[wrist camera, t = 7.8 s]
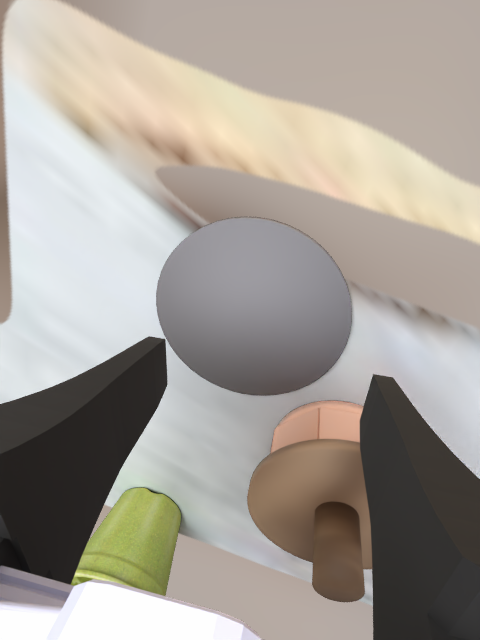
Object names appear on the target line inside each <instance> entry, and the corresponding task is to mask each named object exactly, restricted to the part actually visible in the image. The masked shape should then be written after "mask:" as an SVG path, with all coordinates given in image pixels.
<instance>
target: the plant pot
mask: <svg viewBox="0 0 480 640" xmlns="http://www.w3.org/2000/svg"><path fill="white" fill-rule="evenodd" d="M180 522H181V513H180V510H179V508H178V507H177V505H176V504H175V503H174V502H173V501H172V500H171V499H170V498H168V497H167V496H165V495H163V494H155V493H152V492H150V491H149V490H148V489H147V488H133V489H129V490H127V491H125V492H124V493H123V494H122V495H121V497H120V498H119V500H118V501H117V502H116V504H115V505H114V507H113V508H112V509H111V511H110V512H109V514H108V515H107V516H106V518H105V519H104V521H103V522H102V523H101V525H100V526H99V528H98V529H97V530H96V532H95V533H94V534H93V536H92V537H91V538H90V540H89V541H88V543H87V545H86V547H85V550H84V552H83V555H82V557H81V560H80V562H79V565H78V567H77V570H76V572H75V575H74V578H73V580H72V583H71V585H73V586H76V585H78V584H81V583H84V582H87V581H89V580H92V579H96V580H104V581H111V582H116V583H119V584H123V585H127V586H130V587H134V588H138V589H141V590H145V591H148V592H152V593H156V594H159V595H163V596H165V595H166V590H167V585H168V580H169V575H170V569H171V565H172V560H173V554H174V550H175V545H176V541H177V536H178V532H179V527H180Z"/></svg>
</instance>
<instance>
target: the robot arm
mask: <svg viewBox="0 0 480 640" xmlns="http://www.w3.org/2000/svg"><path fill="white" fill-rule="evenodd" d="M166 387H167V365H166V343H165V339H161V338H155V337H147V338H145V339H144V340H142V341H140V342H138V343H136V344H135V345H133V346H131V347H130V348H128V349H126V350H124V351H123V352H121V353H119V354H117V355H116V356H114V357H112V358H110V359H109V360H107V361H105V362H103V363H101V364H99V365H98V366H96V367H94V368H92V369H90V370H88V371H86V372H84V373H82V374H80V375H78V376H76V377H74V378H72V379H69V380H67V381H65V382H63V383H60V384H58V385H55V386H53V387H50V388H48V389H45V390H43V391H40V392H37V393H34V394H31V395H28V396H25V397H22V398H19V399H16V400H13V401H10V402H6V403H3V404H0V640H263V639H260V637H259V635H258V634H257V632H255V631H254V630H253V629H251V628H250V627H249V626H248V625H246V624H245V623H244V622H243V621H242V620H239V619H237V618H235V617H232V616H230V615H227V614H225V613H223V612H220V611H217V610H213V609H210V608H206V607H202V606H199V605H195V604H192V603H188V602H185V601H180V600H177V599H173V598H170V597H166V596H163V595H159V594H156V593H152V592H148V591H145V590H141V589H138V588H134V587H130V586H127V585H123V584H119V583H116V582H111V581H104V580H96V579H92V580H89V581H87V582H84V583H81V584H78V585H76V586H73V585H71V583H72V580H73V578H74V575H75V572H76V570H77V567H78V565H79V562H80V560H81V557H82V555H83V552H84V550H85V547H86V545H87V543H88V540H89V538H90V535H91V533H92V531H93V528H94V526H95V524H96V521H97V519H98V517H99V515H100V512H101V510H102V508H103V506H104V503H105V501H106V499H107V497H108V495H109V492H110V490H111V488H112V486H113V484H114V482H115V480H116V478H117V476H118V474H119V471H120V469H121V468H122V466H123V464H124V462H125V460H126V459H127V457H128V455H129V454H130V452H131V450H132V449H133V447H134V446H135V444H136V442H137V441H138V439H139V437H140V436H141V434H142V432H143V431H144V429H145V428H146V426H147V424H148V423H149V421H150V419H151V418H152V416H153V414H154V413H155V411H156V409H157V407H158V405H159V403H160V401H161V398H162V396H163V394H164V391H165V389H166ZM360 452H361V459H362V466H363V473H364V480H365V487H366V494H367V501H368V508H369V515H370V525H371V545H372V574H373V628H374V630H373V640H480V479H479V478H478V477H477V476H476V475H474V474H473V473H472V472H471V471H470V470H469V469H468V468H467V467H466V466H465V465H464V464H463V463H462V462H461V461H460V460H459V459H458V458H457V457H456V456H455V455H454V454H453V453H452V452H451V451H450V449H449V448H448V447H447V446H446V445H445V444H444V443H443V442H442V440H441V439H440V438H439V437H438V436H437V435H436V434H435V432H434V431H433V430H432V429H431V428H430V427H429V425H428V424H427V423H426V422H425V420H424V419H423V418H422V417H421V415H420V414H419V413H418V411H417V410H416V409H415V407H414V406H413V405H412V403H411V402H410V401H409V399H408V398H407V397H406V395H405V394H404V392H403V391H402V390H401V388H400V387H399V385H398V384H397V383H396V381H395V380H394V379H393V378H392V377H386V376H380V375H374V374H373V377H372V381H371V384H370V387H369V391H368V394H367V397H366V401H365V404H364V407H363V411H362V414H361V418H360Z"/></svg>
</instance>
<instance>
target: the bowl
mask: <svg viewBox="0 0 480 640" xmlns="http://www.w3.org/2000/svg"><path fill="white" fill-rule="evenodd" d="M363 407H364V406H361V405H358V404H354V403H350V402H344V401H319V402H313V403H309V404H306V405H303V406H301V407H298V408H296V409H294V410H293V411H291V412H290V413H288V414H287V415H286V416H285V417H284V418H283V419H282V420H281V421H280V423H279V424H278V426H277V427H276V428H275V430H274V436H273V441H272V447H271V453H273V452H274V451H276V450H278V449H280V448H282V447H285V446H287V445H290V444H293V443H297V442H301V441H307V440H314V439H341V440H349V441H355V442H359V443H360V418H361V414H362V411H363ZM271 453H270V454H271Z"/></svg>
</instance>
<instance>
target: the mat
mask: <svg viewBox="0 0 480 640" xmlns="http://www.w3.org/2000/svg"><path fill="white" fill-rule="evenodd" d="M156 305H157V313H158V318H159V321H160V325H161V328H162V330H163V333H164V335H165V337H166V339H167V341H168V342H169V344H170V346H171V347H172V349H173V350H174V351H175V353H176V354H177V355H178V357H179V358H180V359H181V360H182V361H183V362H184V363H185V364H186V365H187V366H188V367H189V368H190V369H192V370H193V371H194V372H195V373H197V374H198V375H200V376H201V377H203V378H204V379H206V380H208V381H209V382H211V383H213V384H215V385H218V386H220V387H222V388H225V389H228V390H231V391H234V392H239V393H243V394H250V395H277V394H282V393H287V392H291V391H294V390H297V389H300V388H302V387H304V386H307V385H309V384H310V383H312V382H314V381H315V380H317V379H319V378H320V377H321V376H322V375H324V374H325V373H326V372H327V371H328V370H329V369H330V368H331V367H332V366H333V365H334V364H335V362H336V361H337V360H338V358H339V357H340V355H341V354H342V352H343V350H344V348H345V346H346V343H347V340H348V337H349V334H350V328H351V322H352V308H351V301H350V294H349V291H348V287H347V284H346V281H345V279H344V277H343V275H342V273H341V271H340V269H339V267H338V266H337V264H336V263H335V261H334V260H333V258H332V257H331V256H330V255H329V254H328V253H327V251H326V250H325V249H324V248H323V247H322V246H321V245H319V244H318V243H317V242H316V241H315V240H313V239H312V238H311V237H309V236H308V235H306V234H305V233H303V232H302V231H300V230H298V229H296V228H294V227H292V226H290V225H287V224H284V223H281V222H278V221H275V220H271V219H265V218H260V217H235V218H228V219H224V220H219V221H216V222H213V223H211V224H208V225H206V226H204V227H202V228H200V229H198V230H197V231H195V232H193V233H192V234H191V235H190V236H188V237H187V238H186V239H184V240H183V241H182V242H181V243H180V244H179V245H178V246H177V247H176V248H175V249H174V250H173V252H172V253H171V255H170V256H169V258H168V259H167V261H166V263H165V265H164V267H163V269H162V271H161V274H160V277H159V280H158V286H157V292H156Z"/></svg>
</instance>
